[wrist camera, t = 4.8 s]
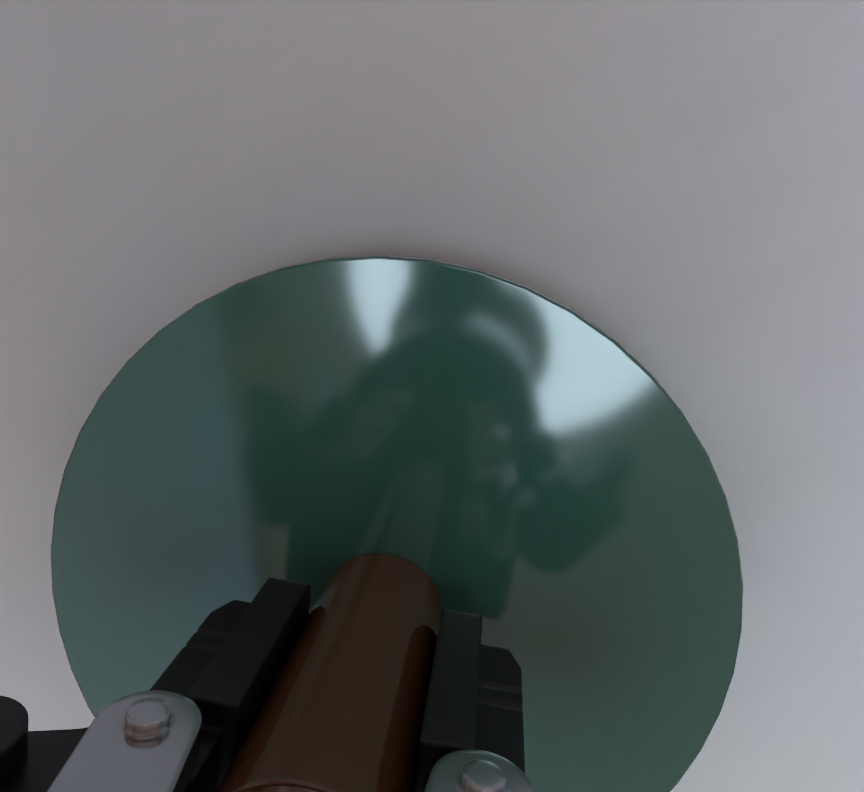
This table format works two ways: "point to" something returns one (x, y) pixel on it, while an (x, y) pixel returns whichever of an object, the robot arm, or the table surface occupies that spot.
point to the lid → (406, 523)
